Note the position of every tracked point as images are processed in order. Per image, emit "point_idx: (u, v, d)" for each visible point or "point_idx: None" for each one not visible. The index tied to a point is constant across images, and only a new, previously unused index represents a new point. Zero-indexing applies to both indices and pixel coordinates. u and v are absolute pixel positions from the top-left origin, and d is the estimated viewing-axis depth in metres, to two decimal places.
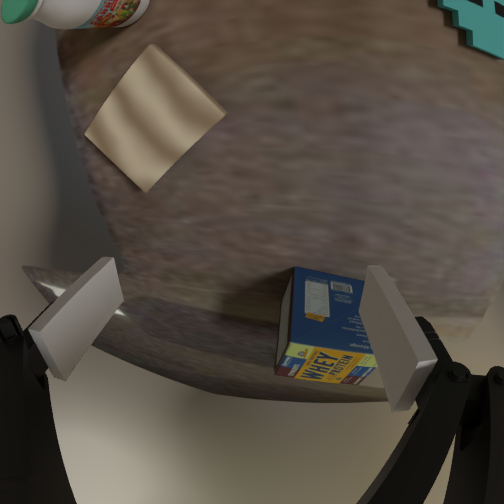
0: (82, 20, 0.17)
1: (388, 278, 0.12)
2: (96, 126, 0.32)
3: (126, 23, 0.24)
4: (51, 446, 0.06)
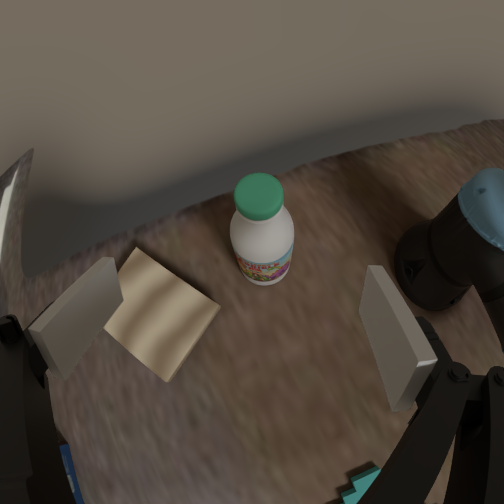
0: (236, 249, 0.33)
1: (388, 278, 0.12)
2: (143, 259, 0.41)
3: None
4: (51, 446, 0.06)
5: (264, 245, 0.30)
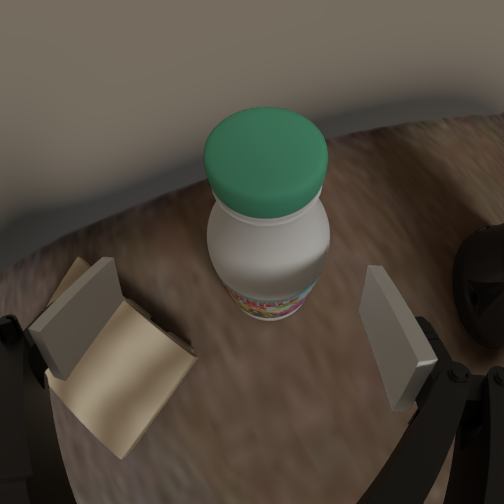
0: (219, 273, 0.17)
1: (388, 278, 0.12)
2: None
3: None
4: (51, 446, 0.06)
5: (275, 271, 0.14)
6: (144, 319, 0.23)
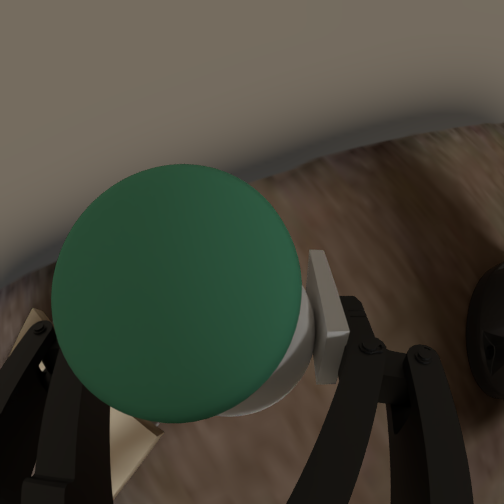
0: None
1: (325, 261, 0.14)
2: None
3: None
4: (101, 445, 0.06)
5: None
6: None
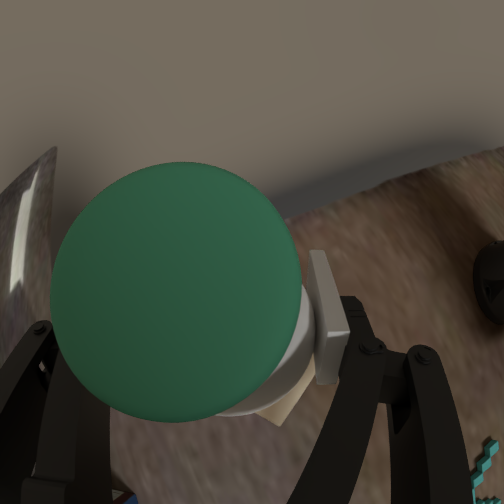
0: None
1: (325, 261, 0.14)
2: None
3: None
4: (101, 445, 0.06)
5: None
6: None
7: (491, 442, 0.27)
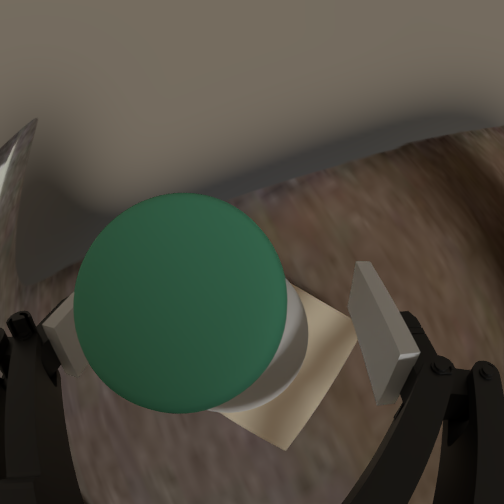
0: None
1: (375, 274, 0.12)
2: None
3: None
4: (61, 445, 0.06)
5: (224, 405, 0.09)
6: (312, 297, 0.25)
7: None
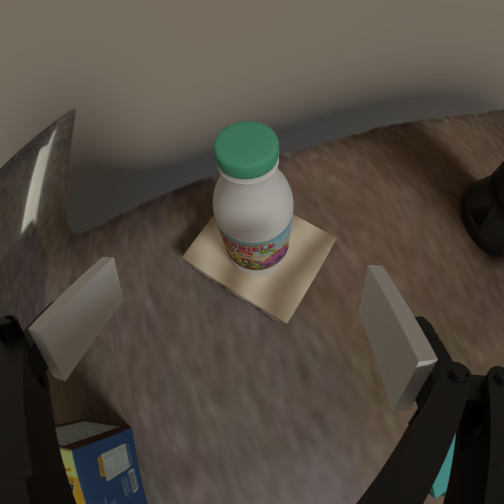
0: (220, 225, 0.26)
1: (388, 278, 0.12)
2: None
3: (230, 257, 0.35)
4: (51, 446, 0.06)
5: (254, 217, 0.23)
6: (300, 219, 0.39)
7: None
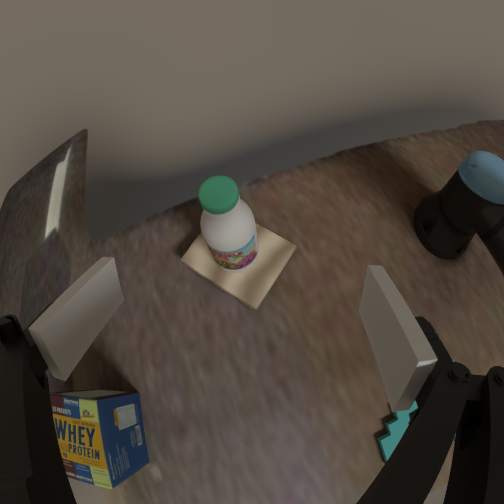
0: (205, 239, 0.39)
1: (388, 278, 0.12)
2: None
3: None
4: (51, 446, 0.06)
5: (226, 235, 0.36)
6: (269, 231, 0.51)
7: None
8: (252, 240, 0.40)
